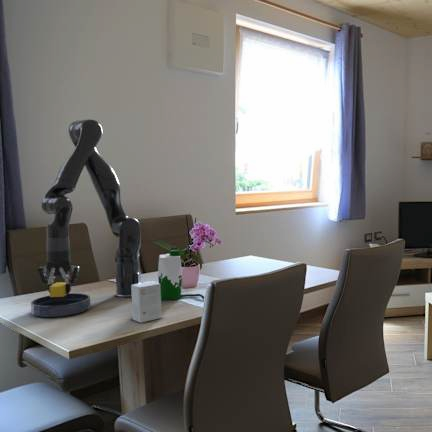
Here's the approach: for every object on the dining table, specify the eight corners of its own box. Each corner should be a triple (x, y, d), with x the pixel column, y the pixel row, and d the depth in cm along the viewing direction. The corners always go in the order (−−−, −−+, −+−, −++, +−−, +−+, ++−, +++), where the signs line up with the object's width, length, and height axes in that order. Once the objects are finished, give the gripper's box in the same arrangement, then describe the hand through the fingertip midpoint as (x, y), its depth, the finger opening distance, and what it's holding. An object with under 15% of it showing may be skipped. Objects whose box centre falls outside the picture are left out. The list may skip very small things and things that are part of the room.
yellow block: (56, 292, 210) (56, 282, 210) (69, 292, 211) (69, 282, 211) (49, 297, 203) (49, 286, 203) (63, 296, 204) (63, 286, 204)
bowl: (96, 303, 219) (95, 292, 219) (81, 317, 201) (81, 305, 200) (42, 305, 215) (42, 294, 214) (22, 319, 196) (22, 307, 196)
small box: (153, 314, 205) (152, 280, 204) (162, 318, 201) (161, 283, 200) (131, 319, 199) (130, 284, 198) (140, 323, 195) (139, 287, 194)
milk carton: (182, 299, 228) (181, 251, 226) (159, 301, 224) (157, 252, 222) (181, 294, 236) (180, 248, 234) (158, 296, 232) (157, 249, 230)
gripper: (82, 247, 211) (83, 290, 212) (40, 247, 207) (42, 291, 209) (76, 250, 203) (77, 295, 205) (33, 250, 200) (34, 296, 202)
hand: (59, 293), depth 207 cm, fingers closed on yellow block, 4 cm apart
